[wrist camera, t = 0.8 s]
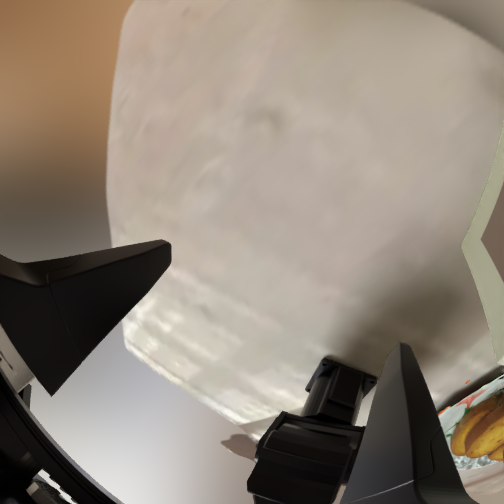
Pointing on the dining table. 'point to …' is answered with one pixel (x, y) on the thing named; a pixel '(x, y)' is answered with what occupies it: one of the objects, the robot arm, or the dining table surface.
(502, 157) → the sage block
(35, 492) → the robot arm
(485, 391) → the food on plate
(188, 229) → the dining table surface
